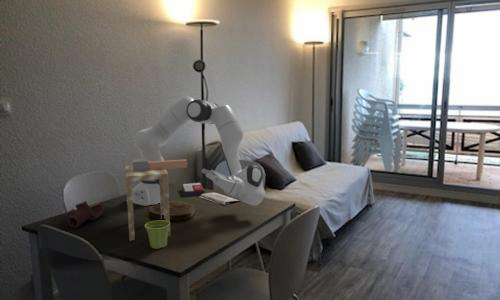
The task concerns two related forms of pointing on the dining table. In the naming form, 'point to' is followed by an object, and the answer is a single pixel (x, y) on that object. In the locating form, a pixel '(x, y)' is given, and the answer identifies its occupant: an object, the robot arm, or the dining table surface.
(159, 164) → the mallet
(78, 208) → the bracket
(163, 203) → the frame
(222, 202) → the newspaper
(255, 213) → the dining table surface
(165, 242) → the plant pot
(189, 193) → the calculator
